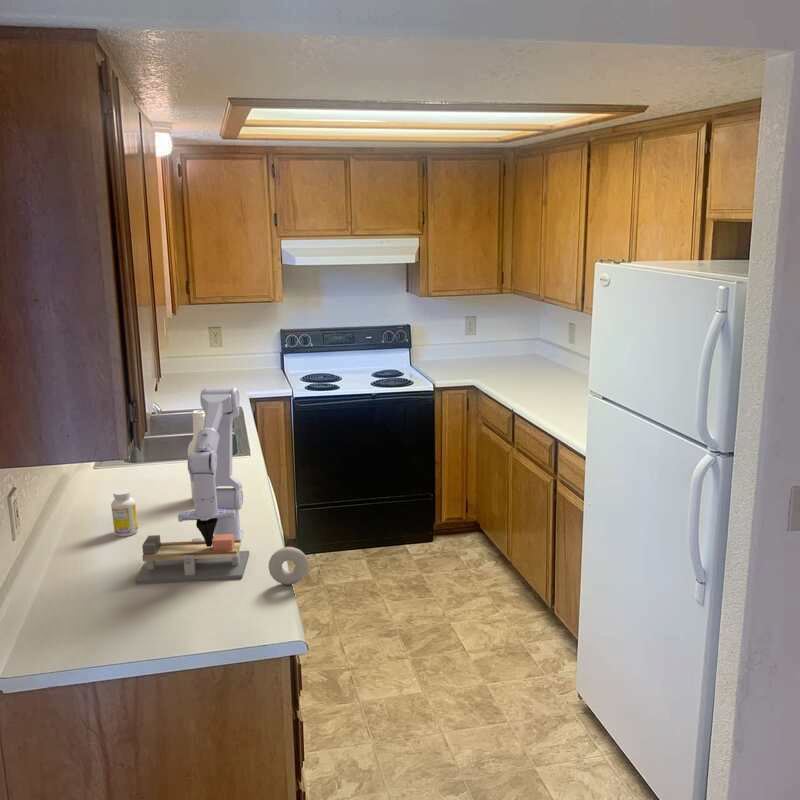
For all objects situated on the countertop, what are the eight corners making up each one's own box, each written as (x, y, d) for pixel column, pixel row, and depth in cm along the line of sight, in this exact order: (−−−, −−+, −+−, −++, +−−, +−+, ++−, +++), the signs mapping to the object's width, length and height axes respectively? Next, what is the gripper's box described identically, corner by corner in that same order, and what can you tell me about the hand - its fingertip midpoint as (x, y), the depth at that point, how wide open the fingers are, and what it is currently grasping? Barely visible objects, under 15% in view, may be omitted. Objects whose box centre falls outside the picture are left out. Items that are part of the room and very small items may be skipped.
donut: (269, 588, 199) (266, 551, 196) (270, 582, 202) (267, 545, 200) (309, 585, 200) (307, 548, 198) (309, 579, 203) (307, 543, 201)
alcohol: (225, 497, 263) (218, 409, 256) (208, 506, 256) (200, 415, 249) (204, 493, 267) (196, 406, 260) (186, 502, 260) (178, 413, 253)
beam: (150, 548, 214) (149, 534, 213) (241, 544, 215) (240, 530, 214) (142, 561, 206) (141, 546, 205) (236, 557, 207) (235, 542, 206)
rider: (215, 545, 212) (214, 534, 212) (234, 544, 212) (233, 533, 212) (213, 551, 208) (212, 540, 208) (232, 550, 209) (231, 539, 208)
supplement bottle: (130, 526, 241) (125, 486, 238) (142, 531, 237) (138, 490, 234) (110, 533, 236) (105, 492, 233) (122, 539, 232) (117, 497, 229)
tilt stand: (149, 558, 218) (147, 539, 217) (249, 553, 219) (247, 534, 218) (135, 583, 203) (132, 562, 202) (242, 578, 205) (240, 557, 203)
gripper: (173, 503, 203) (178, 552, 206) (231, 500, 203) (235, 550, 207) (179, 493, 209) (184, 541, 213) (235, 491, 210) (238, 539, 213)
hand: (209, 545), depth 210 cm, fingers closed
